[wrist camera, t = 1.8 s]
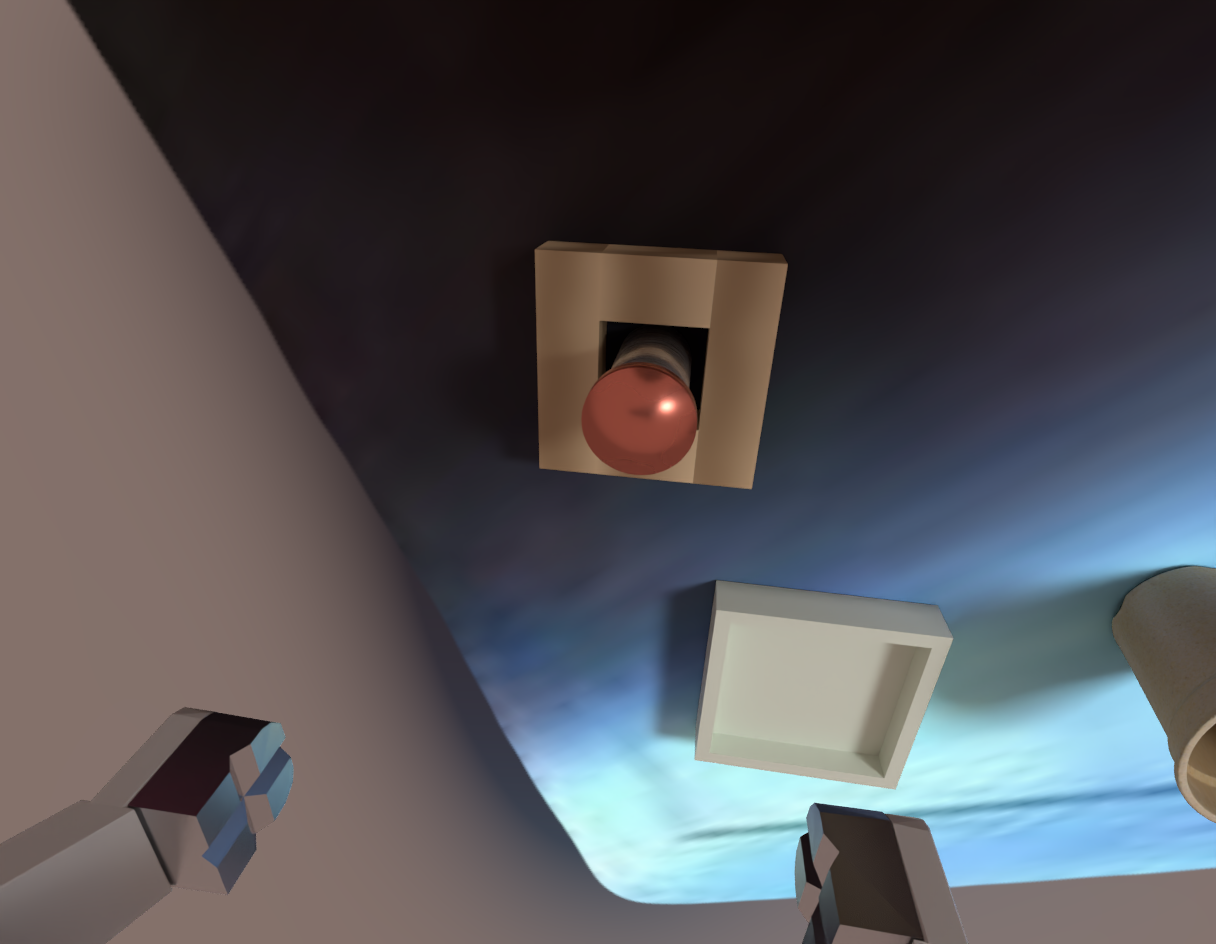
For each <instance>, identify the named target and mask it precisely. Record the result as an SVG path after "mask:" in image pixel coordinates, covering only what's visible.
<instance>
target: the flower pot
mask: <svg viewBox="0 0 1216 944" xmlns="http://www.w3.org/2000/svg"><path fill="white" fill-rule="evenodd" d="M1112 631H1113V636H1114V638H1115V641H1116V643H1117V645H1118V646H1119V647H1120V649H1121V651H1122V653H1123V654H1124V656H1125V658H1126V660H1127V662H1128V664H1129V665H1130V667H1131V669H1132V671H1133V673H1134V674H1135V676H1136V678H1137V680H1138V682H1139V684H1140V686H1141V688H1142V690H1143V691H1144V693H1145V695H1146V697H1147V699H1148V701H1149V703H1150V705H1151V706H1152V708H1153V710H1154V712H1155V714H1156V716H1157V718H1158V720H1159V722H1160V723H1161V725H1162V727H1163V729H1164V731H1165V733H1166V735H1167V737H1168V747H1169V751H1170V754H1171V756H1172V759H1173V760H1174V762H1175V763H1174V774H1175V780H1176V783H1177V786H1178V788H1179V790H1180V792H1181V794H1182V795H1183V797H1184V798H1185V800H1186V801H1187V802H1188V804H1189V805H1191V806H1192V808H1193V809H1195V810H1196V811H1197V812H1198V813H1200V814H1201V815H1202V816H1204V817H1205V818H1207V819H1208V820H1210V821H1212V822H1215V823H1216V569H1215V568H1206V567H1200V566H1190V567H1183V568H1179V569H1174V570H1171V571H1167V572H1164V573H1162V574H1159V575H1157V576H1154V577H1152V578H1150V579H1148V580H1146V581H1144V582H1143V583H1141V584H1140V585H1138V586H1137V587H1135V588H1134V589H1132V590H1131V591H1130V592H1129V593H1128V594H1127V595H1126V596H1125V598H1124V601H1123V604H1122V606H1121V609H1120V610H1119V612H1118V613H1117V615H1116V616H1115V617H1114V618H1113V619H1112Z"/></svg>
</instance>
